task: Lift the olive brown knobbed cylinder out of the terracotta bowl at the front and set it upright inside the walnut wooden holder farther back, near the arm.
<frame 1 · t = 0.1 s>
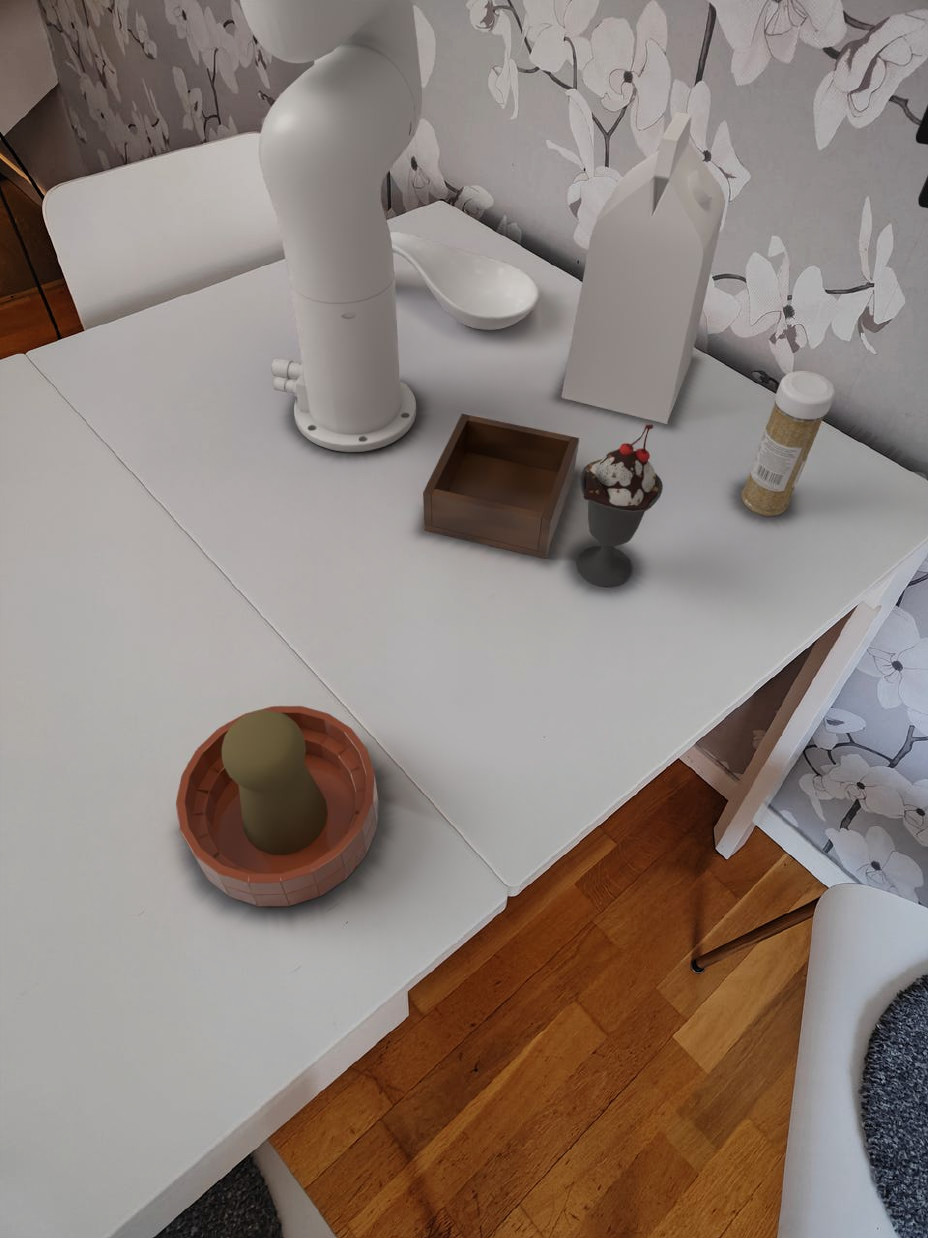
holder: (501, 502, 83), on the table
sprinkles bottle: (762, 502, 84), on the table
milk: (627, 380, 95), on the table
spoon rest: (439, 307, 104), on the table
olive brown knobbed cylinder: (285, 816, 62), resting on bowl
sundae: (603, 567, 78), on the table
bowl: (286, 817, 62), on the table
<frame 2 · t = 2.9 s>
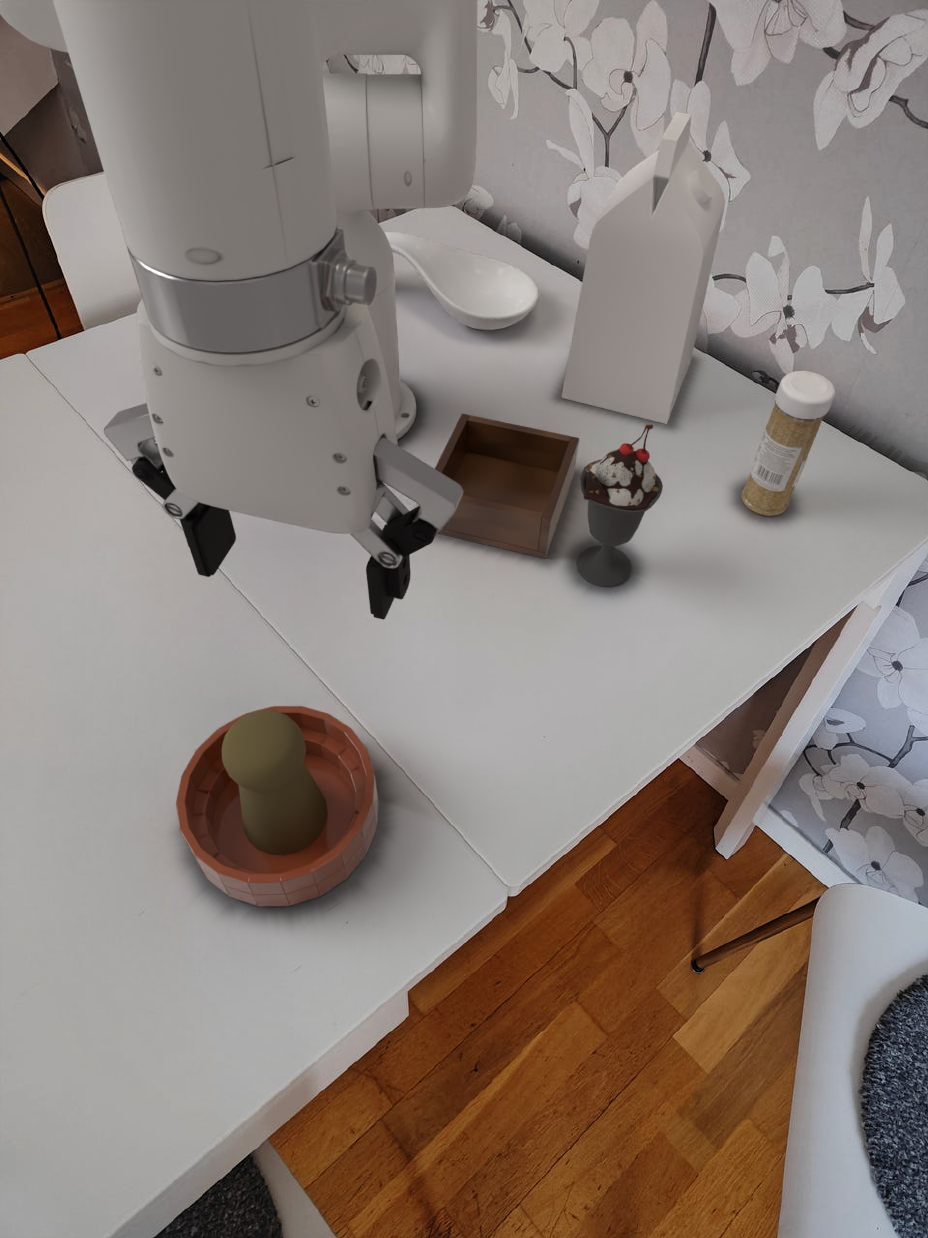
hand: (301, 577, 46), 23 cm above the table, tool pointing down, fingers open, 9 cm apart
nothing on the table moved.
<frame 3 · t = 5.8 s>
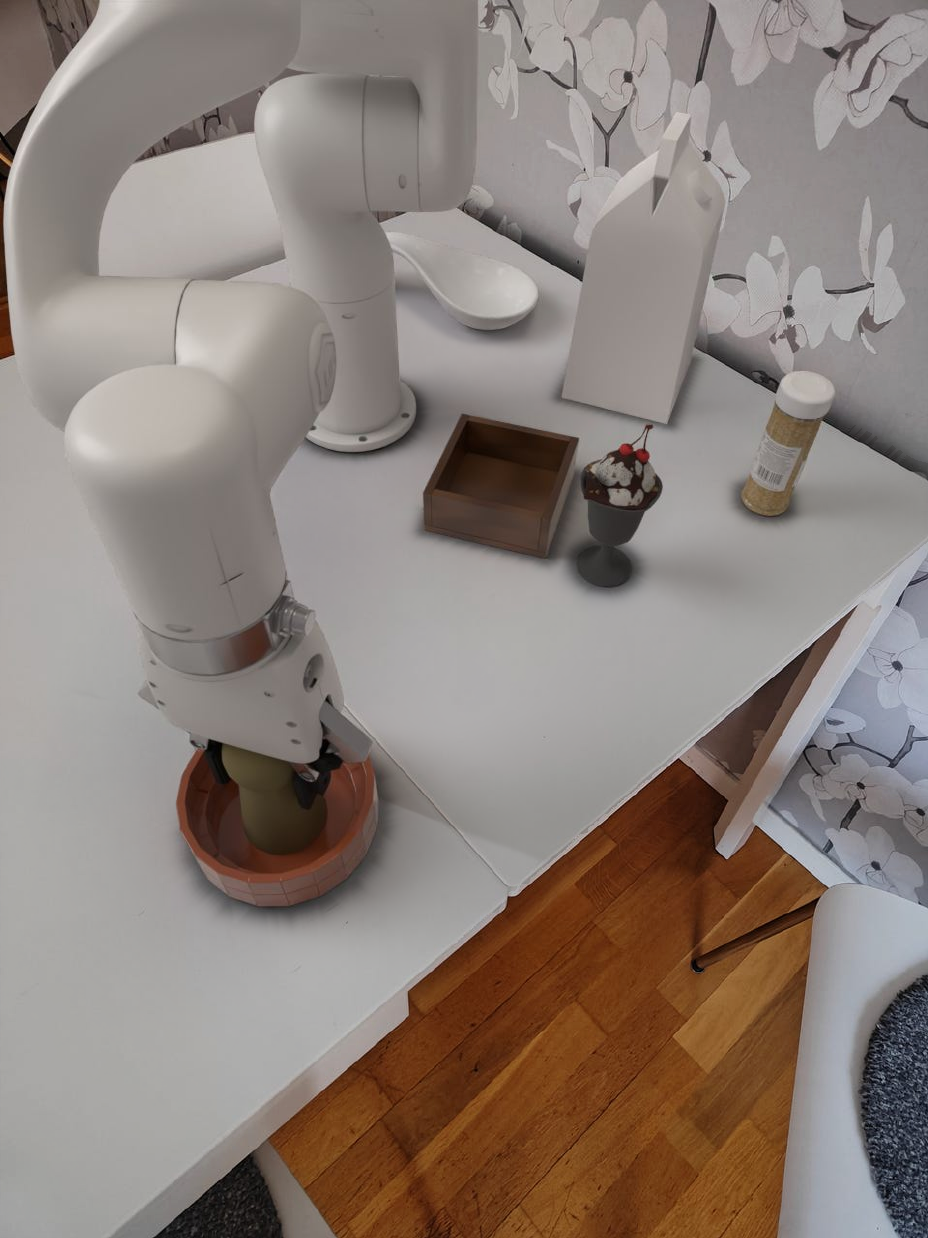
hand: (272, 776, 58), 6 cm above the table, tool pointing down, fingers closed on olive brown knobbed cylinder, 5 cm apart
olive brown knobbed cylinder: (285, 816, 62), resting on bowl, touching gripper
everything else where it was.
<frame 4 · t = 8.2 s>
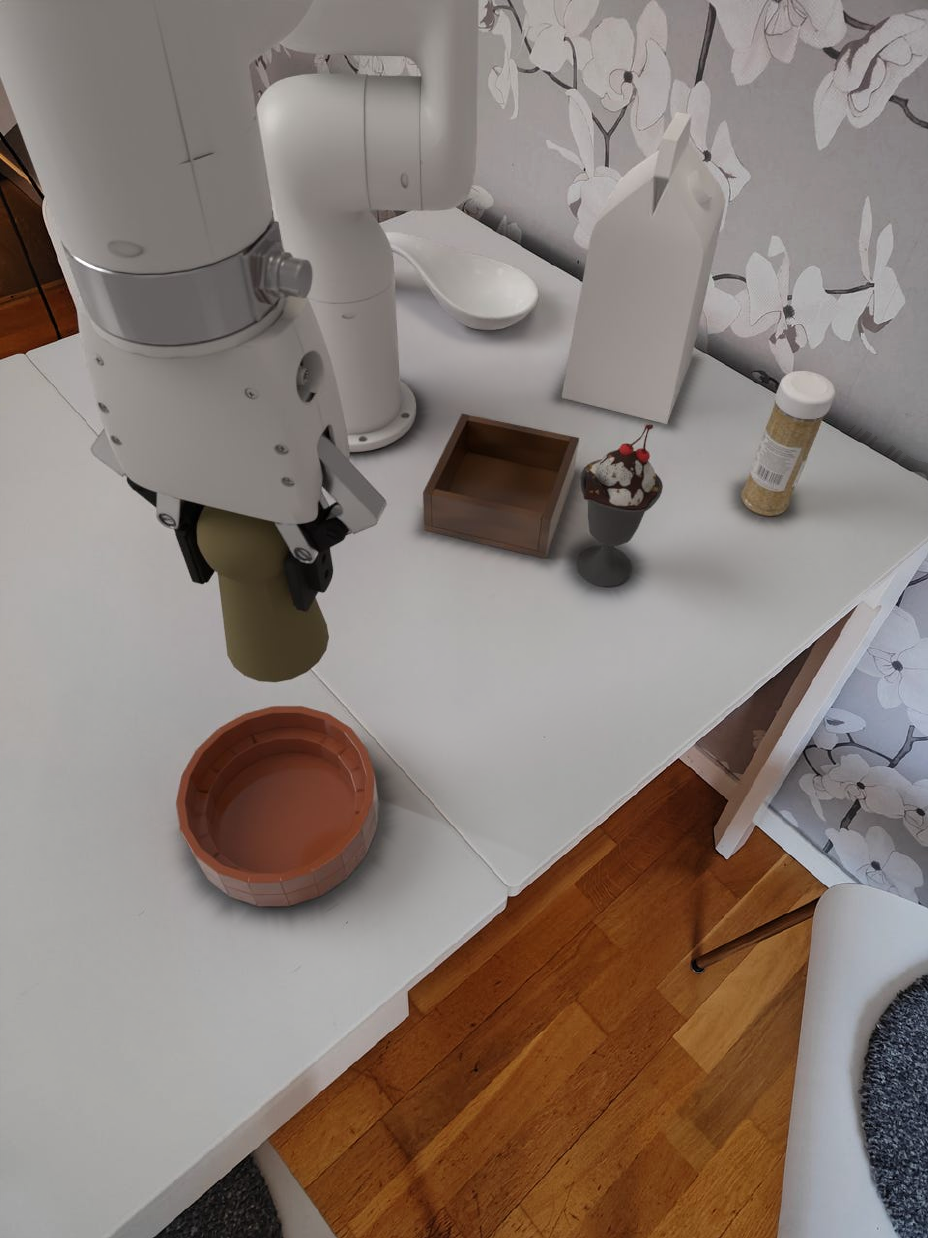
hand: (261, 575, 47), 23 cm above the table, tool pointing down, fingers closed on olive brown knobbed cylinder, 5 cm apart
olive brown knobbed cylinder: (278, 641, 52), point 16 cm above the table, touching gripper
everything else where it was.
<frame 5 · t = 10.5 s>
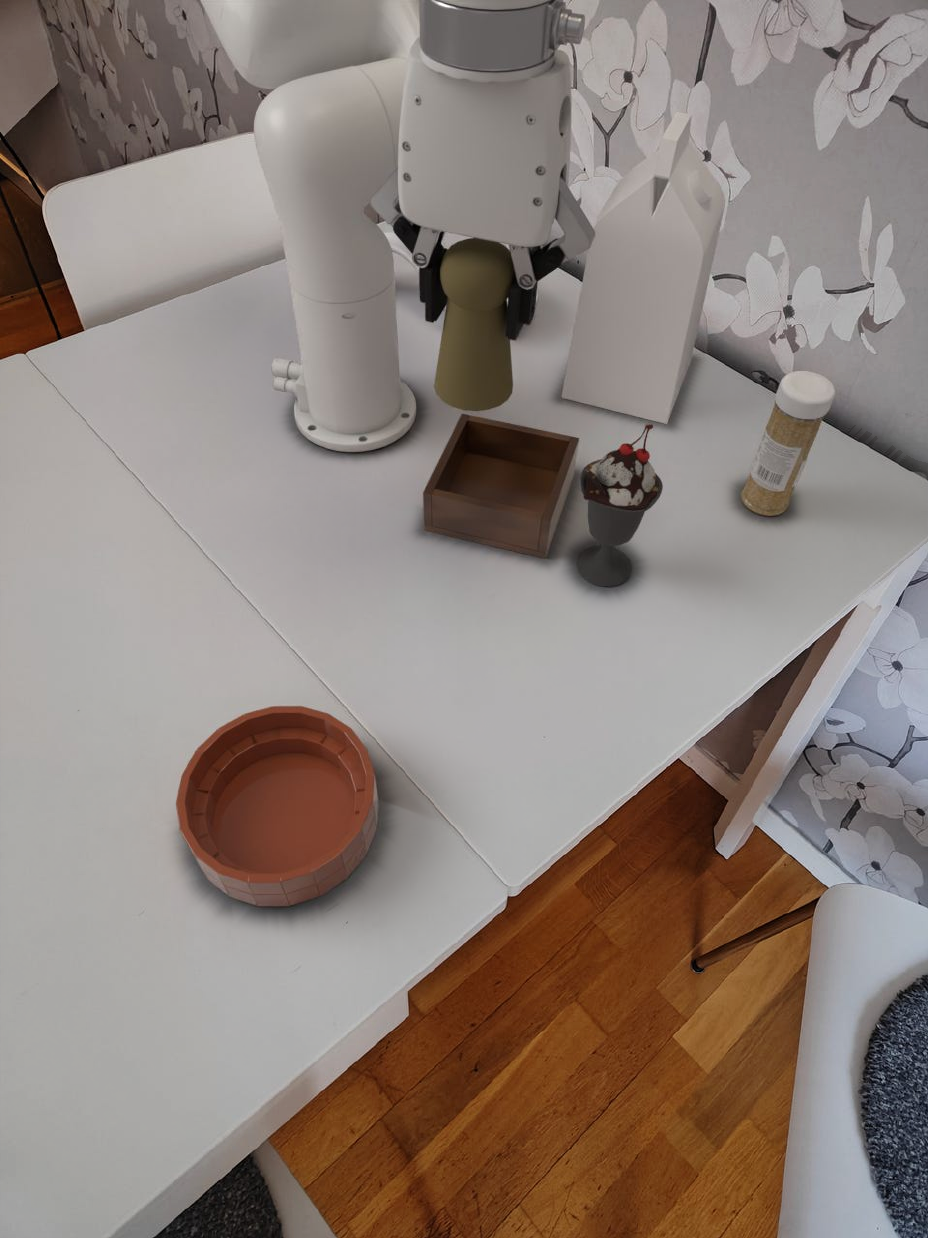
hand: (476, 317, 61), 23 cm above the table, tool pointing down, fingers closed on olive brown knobbed cylinder, 5 cm apart
olive brown knobbed cylinder: (473, 387, 66), point 17 cm above the table, touching gripper
everything else where it was.
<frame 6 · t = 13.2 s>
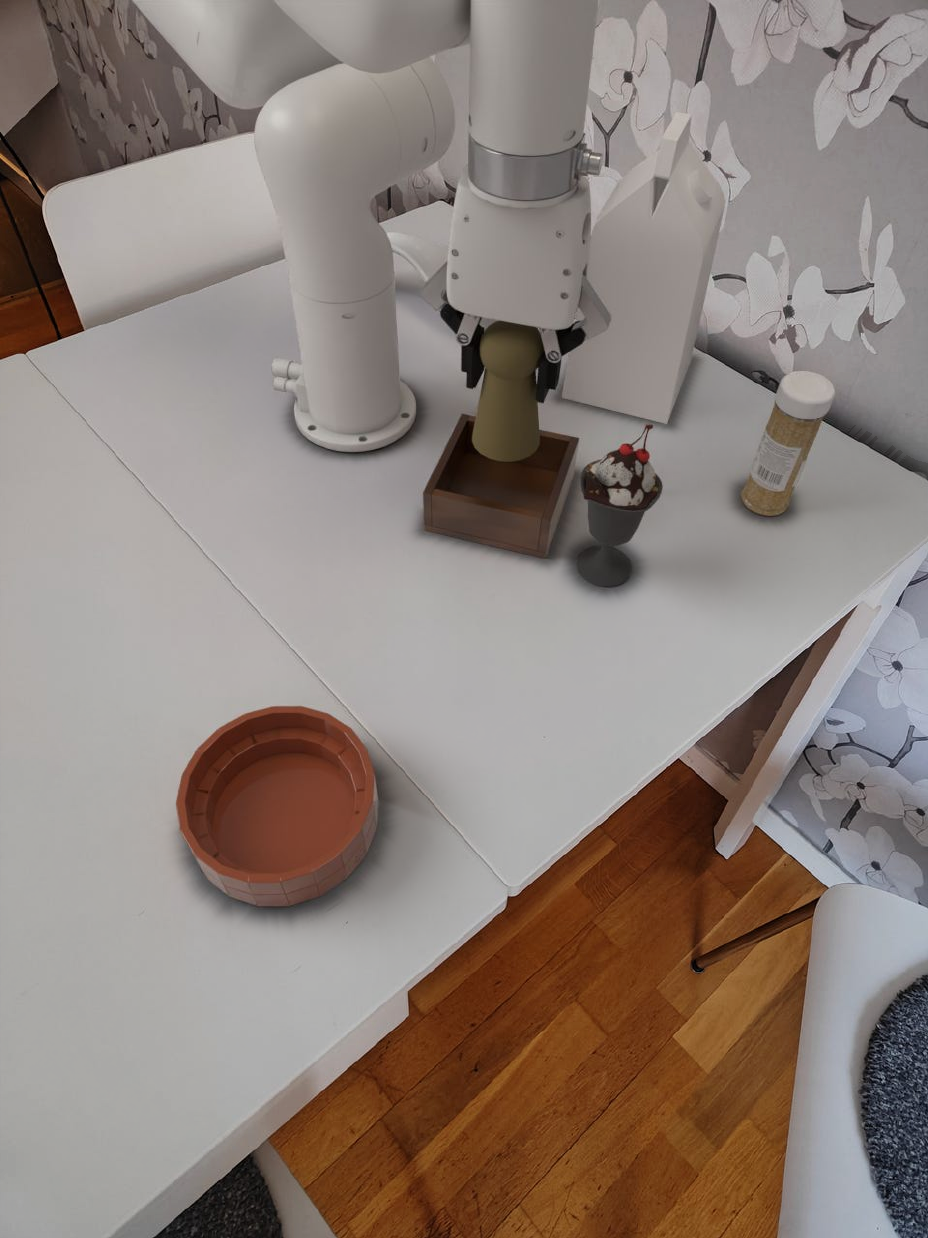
hand: (509, 384, 72), 14 cm above the table, tool pointing down, fingers closed on olive brown knobbed cylinder, 5 cm apart
olive brown knobbed cylinder: (505, 440, 77), point 8 cm above the table, touching gripper
everything else where it was.
when the fingers open (7 cm above the table, at t = 15.3 s): olive brown knobbed cylinder stays where it is, resting on holder.
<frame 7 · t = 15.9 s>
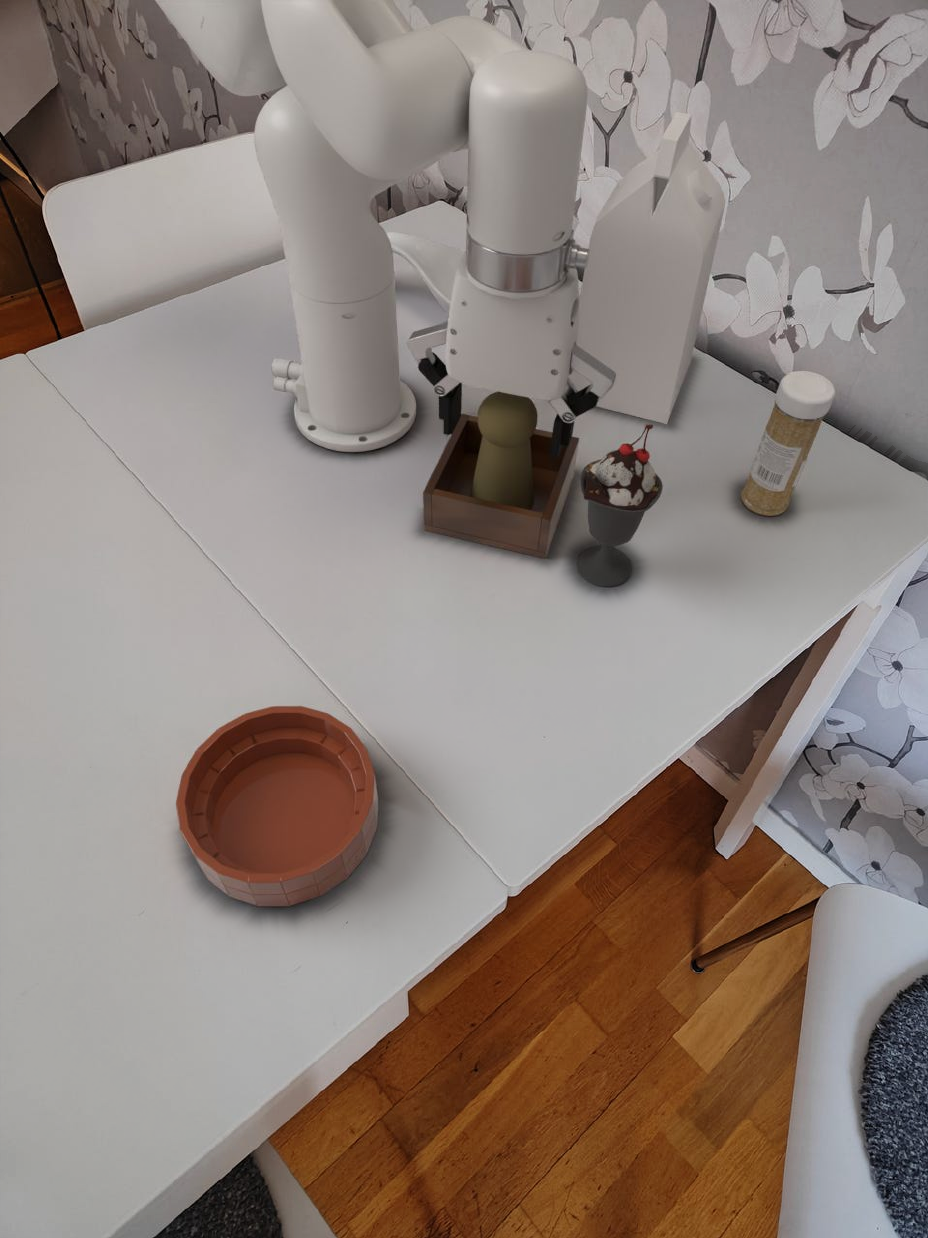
hand: (504, 436, 77), 8 cm above the table, tool pointing down, fingers open, 9 cm apart
olive brown knobbed cylinder: (502, 498, 82), point 1 cm above the table, touching holder
everything else where it was.
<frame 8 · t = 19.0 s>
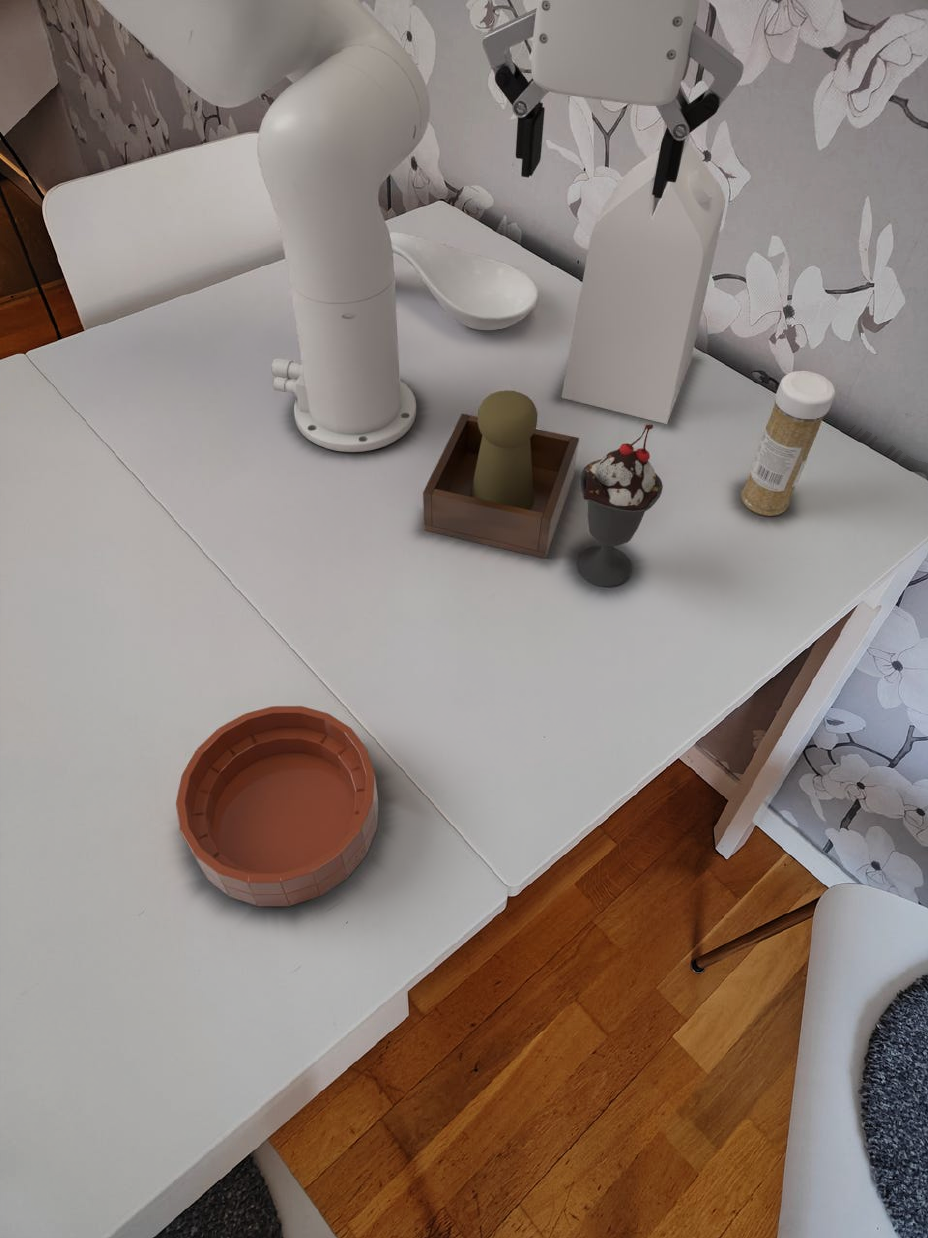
hand: (594, 179, 64), 28 cm above the table, tool pointing down, fingers open, 9 cm apart
nothing on the table moved.
at the end: olive brown knobbed cylinder inside the target area in the holder (0.1 cm from its centre), point 0.6 cm above the holder's base; olive brown knobbed cylinder tilted 0°; the gripper is holding nothing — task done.
